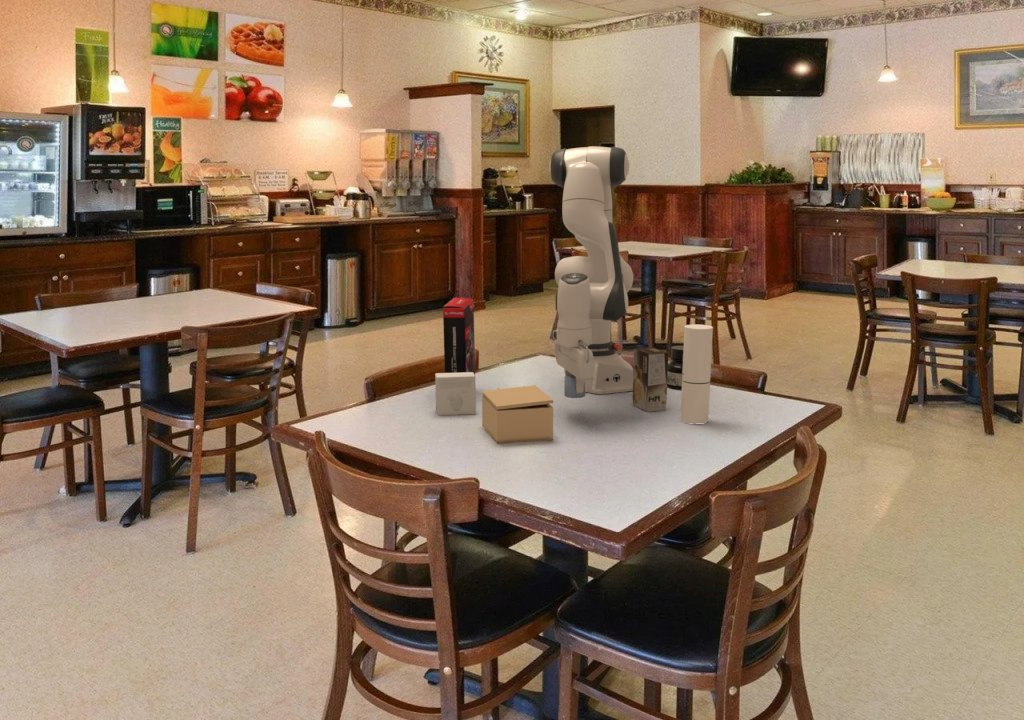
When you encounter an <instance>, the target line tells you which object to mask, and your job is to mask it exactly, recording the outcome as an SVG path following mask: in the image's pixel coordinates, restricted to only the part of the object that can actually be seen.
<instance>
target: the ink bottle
mask: <svg viewBox="0 0 1024 720" xmlns="http://www.w3.org/2000/svg"><path fill="white" fill-rule="evenodd" d="M683 349H684V345H673V346H671V347H670V360H671V361H669V362H668V377H667V388H669V389H674V390H682V371H683Z"/></svg>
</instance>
